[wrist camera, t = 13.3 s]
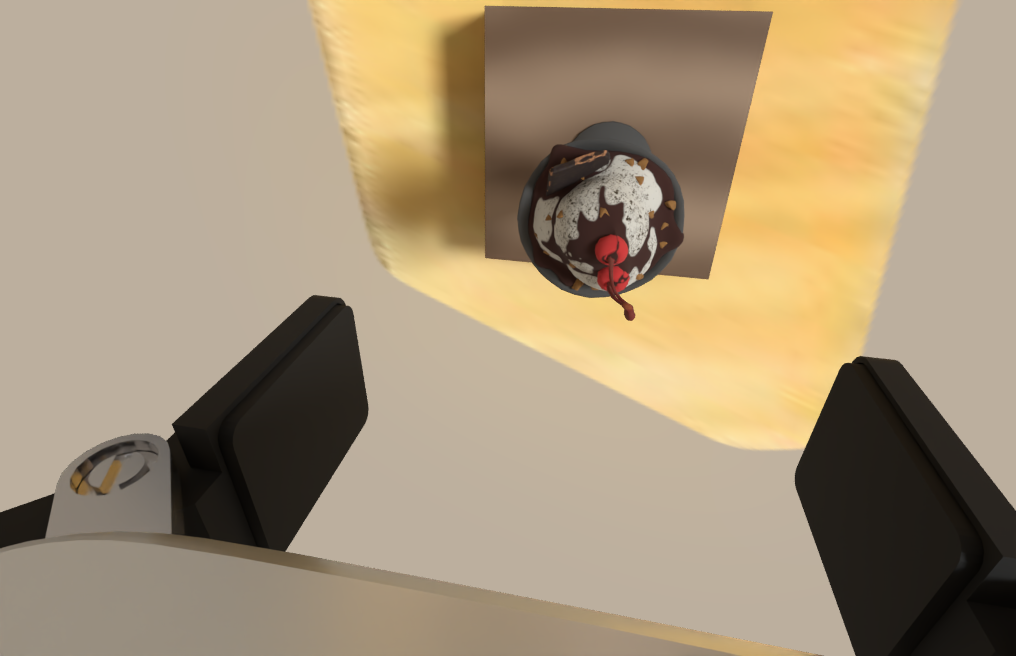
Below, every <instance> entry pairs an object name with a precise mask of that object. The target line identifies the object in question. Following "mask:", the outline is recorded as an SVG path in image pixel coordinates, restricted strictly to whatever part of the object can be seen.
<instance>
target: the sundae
mask: <svg viewBox="0 0 1016 656" xmlns="http://www.w3.org/2000/svg"><path fill="white" fill-rule="evenodd" d="M517 221H518V231H519V235H520V240H521V243H522V245H523V247H524V249H525V252H526V253H527V255H528V257H529V258H530V260H531V262H532V263H533V264H534V266H535V267H536V268H537V270H538V271H539V272H540V273H541V274H542V275H543V276H544V277H545V278H546V279H547V280H549V281H550V282H551V283H553V284H554V285H556V286H557V287H558V288H560V289H561V290H564V291H567V292H569V293H572V294H574V295H579V296H583V297H588V298H597V297H609V296H611V297H612V298H613V299H614V300H615V301H616V302H617V303H619V304H620V305H622V307H623V308H624V315H625V318H626V319H627V320H629V321H632V320H633V319H634V318H635V313H634V310H633V306H632V305H631V304H628V303H627V302H626V301H624V300H623V299H622V298H621V297H620V295H619V294H622V293H625V292H628V291H630V290H633V289H635V288H637V287H639V286H641V285H643V284H645V283H647V282H649V281H650V280H652V279H653V278H654V277H655V276H657V275H658V274H659V273H660V272H661V271H662V270H663V269H664V268H665V267H666V266H667V265H668V264H669V262H670V261H671V260H672V258H673V256H674V254H675V252H676V250H677V248H678V247H679V246H680V245H681V244H682V242H683V240H684V233H683V228H684V199H683V196H682V192H681V188H680V185H679V183H678V181H677V179H676V177H675V175H674V174H673V172H672V171H671V170H670V168H669V167H668V166H667V164H665V163H664V162H663V161H662V160H660V159H659V158H658V157H657V156H655V155H654V154H652V152H651V150H650V147H649V145H648V143H647V141H646V140H645V138H644V137H643V136H642V135H641V134H640V133H639V132H638V131H637V130H636V129H634V128H633V127H631V126H630V125H627V124H624V123H620V122H615V121H609V122H601V123H597V124H594V125H592V126H590V127H588V128H586V129H585V130H584V131H582V132H581V133H579V135H578V136H577V137H576V138H575V139H574V140H573V141H572V142H570V143H567V144H564V145H562V144H557V145H555V146H553V148H552V150H551V153H550V154H549V155H548V156H547V157H545V158H544V159H543V160H542V161H541V162H540V164H539V165H538V166H537V168H536V169H535V170H534V172H533V173H532V175H531V176H530V178H529V180H528V182H527V183H526V185H525V187H524V189H523V193H522V196H521V199H520V203H519V209H518V215H517ZM615 295H616V296H615ZM616 297H617V298H616Z"/></svg>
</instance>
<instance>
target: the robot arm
mask: <svg viewBox="0 0 1016 656" xmlns="http://www.w3.org/2000/svg"><path fill="white" fill-rule="evenodd" d="M367 416H368V401H367V395H366V389H365V383H364V376H363V370H362V364H361V358H360V352H359V346H358V340H357V334H356V327H355V321H354V315H353V311H352V309H351V307H350V306H346V305H345V303H344V301H343V300H342V299H341V298H335V297H327V296H317V295H313V296H311V297H310V298H309V299H307V300H306V301H305V302H304V303H303V304H302V305H301V306H300V307H299V308H298V309H296V311H294V312H293V313H292V314H291V315H290V316H289V317H288V318H287V319H286V320H285V321H283V322H282V323H281V324H280V325H279V326H278V327H277V328H276V329H275V330H274V331H273V332H272V333H270V334H269V335H268V336H267V337H266V338H265V339H264V340H263V341H262V342H261V343H260V344H258V345H257V346H256V347H255V348H254V349H253V350H252V351H251V352H250V353H249V354H248V355H247V356H245V357H244V358H243V359H242V360H241V361H240V362H239V363H238V364H237V365H236V366H235V367H233V368H232V369H231V370H230V371H229V372H228V373H227V374H226V375H225V376H224V377H223V378H221V379H220V380H219V381H218V382H217V383H216V384H215V385H214V386H213V387H212V388H211V389H210V390H208V391H207V392H206V393H205V394H204V395H203V396H202V397H201V398H200V399H199V400H198V401H196V402H195V403H194V404H193V406H191V407H190V408H189V409H188V410H187V411H186V412H185V413H184V414H183V415H182V416H180V417H179V418H178V419H177V420H176V421H175V422H174V423H173V424H172V426H173V428H174V430H175V433H174V434H173V435H172V436H171V437H170V438H169V439H168V440H167V441H165V440H164V439H163V438H161V437H160V436H157V435H153V434H131V435H127V436H121V437H117V438H115V439H112V440H109V441H106V442H104V443H101V444H99V445H97V446H96V447H93V448H92V449H90V450H88V451H86V452H85V453H83V454H82V455H81V456H79V457H78V458H77V459H75V460H74V461H73V462H72V463H71V464H70V465H69V466H68V467H67V468H66V469H65V470H64V471H63V472H62V474H61V476H60V479H59V481H58V483H57V486H56V490H55V493H54V494H52V495H49V496H46V497H43V498H41V499H37V500H34V501H32V502H29V503H26V504H23V505H20V506H17V507H15V508H12V509H9V510H6V511H3V512H0V656H822V655H817V654H812V653H807V652H802V651H797V650H792V649H787V648H782V647H777V646H772V645H767V644H762V643H757V642H751V641H747V640H741V639H737V638H731V637H726V636H721V635H716V634H711V633H706V632H701V631H696V630H691V629H686V628H681V627H676V626H671V625H665V624H661V623H656V622H651V621H646V620H641V619H635V618H631V617H625V616H620V615H615V614H609V613H605V612H600V611H594V610H589V609H584V608H579V607H574V606H569V605H563V604H558V603H553V602H548V601H543V600H538V599H532V598H527V597H522V596H516V595H512V594H506V593H501V592H496V591H491V590H486V589H481V588H476V587H470V586H465V585H459V584H454V583H449V582H444V581H439V580H434V579H428V578H423V577H418V576H412V575H407V574H401V573H396V572H391V571H386V570H380V569H375V568H369V567H364V566H359V565H354V564H348V563H343V562H337V561H332V560H327V559H322V558H316V557H311V556H305V555H300V554H295V553H289V552H285V551H286V550H287V548H288V546H289V545H290V543H291V542H292V540H293V538H294V537H295V535H296V534H297V532H298V530H299V529H300V527H301V526H302V524H303V522H304V521H305V519H306V518H307V516H308V514H309V513H310V511H311V510H312V508H313V506H314V505H315V503H316V501H317V500H318V498H319V497H320V495H321V493H322V492H323V490H324V489H325V487H326V485H327V484H328V482H329V481H330V479H331V477H332V475H333V474H334V472H335V471H336V469H337V468H338V466H339V465H340V463H341V461H342V460H343V458H344V457H345V455H346V453H347V452H348V450H349V448H350V447H351V445H352V444H353V442H354V440H355V439H356V437H357V436H358V434H359V432H360V431H361V429H362V428H363V426H364V424H365V422H366V420H367ZM795 486H796V490H797V493H798V495H799V498H800V501H801V504H802V507H803V509H804V512H805V515H806V517H807V520H808V523H809V526H810V529H811V532H812V535H813V537H814V540H815V543H816V546H817V549H818V551H819V554H820V557H821V560H822V563H823V565H824V568H825V571H826V574H827V577H828V579H829V582H830V585H831V588H832V591H833V593H834V596H835V599H836V602H837V605H838V607H839V610H840V613H841V616H842V619H843V621H844V624H845V627H846V630H847V632H848V635H849V638H850V641H851V644H852V647H853V649H854V652H855V655H856V656H1016V511H1015V509H1014V508H1013V507H1012V505H1011V504H1010V503H1009V502H1008V501H1007V499H1006V498H1005V496H1004V495H1003V494H1002V493H1001V491H1000V490H999V489H998V487H997V486H996V485H995V484H994V483H993V481H992V480H991V479H990V477H989V476H988V475H987V473H986V472H985V471H984V469H983V468H982V467H981V466H980V464H979V463H978V462H977V460H976V459H975V458H974V457H973V455H972V454H971V453H970V451H969V450H968V449H967V448H966V446H965V445H964V444H963V442H962V441H961V440H960V439H959V437H958V436H957V435H956V433H955V432H954V431H953V430H952V428H951V427H950V426H949V425H948V423H947V422H946V421H945V419H944V418H943V417H942V415H941V414H940V413H939V412H938V410H937V409H936V408H935V406H934V405H933V404H932V403H931V401H930V400H929V399H928V397H927V396H926V395H925V394H924V392H923V391H922V390H921V388H920V387H919V386H918V385H917V383H916V382H915V381H914V379H913V378H912V377H911V376H910V374H909V373H908V372H907V370H906V369H905V368H904V367H903V365H902V364H901V363H900V362H898V361H896V360H890V359H880V358H872V357H863V356H860V357H857V358H856V359H855V360H854V361H853V362H852V363H845V364H844V365H842V367H841V368H840V370H839V372H838V375H837V377H836V379H835V381H834V384H833V386H832V388H831V391H830V393H829V395H828V397H827V400H826V402H825V404H824V407H823V409H822V411H821V413H820V416H819V418H818V420H817V423H816V425H815V427H814V429H813V432H812V434H811V436H810V438H809V441H808V443H807V445H806V448H805V450H804V452H803V454H802V457H801V459H800V461H799V464H798V466H797V468H796V473H795Z"/></svg>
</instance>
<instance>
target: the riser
mask: <svg viewBox="0 0 1016 656" xmlns="http://www.w3.org/2000/svg"><path fill="white" fill-rule="evenodd" d="M772 14H773V12H760V11H711V10H662V9H612V8H563V7H514V6H485V258H491V259H501V260H512V261H522V262H531V260H530V258H529V257H528V255H527V253H526V252H525V249H524V247H523V245H522V243H521V240H520V235H519V231H518V221H517V215H518V209H519V203H520V199H521V196H522V193H523V189H524V187H525V185H526V183H527V182H528V180H529V178H530V176H531V175H532V173H533V172H534V170H535V169H536V168H537V166H538V165H539V164H540V162H541V161H542V160H543V159H544V158H545V157H547V156H548V155H549V154H550V153H551V150H552V148H553V146H555V145H557V144H562V145H564V144H567V143H570V142H572V141H573V140H574V139H575V138H576V137H577V136H578V135H579V133H581V132H582V131H584V130H585V129H586V128H588V127H590V126H592V125H594V124H597V123H601V122H609V121H615V122H620V123H624V124H627V125H630V126H631V127H633V128H634V129H636V130H637V131H638V132H639V133H640V134H641V135H642V136H643V137H644V138H645V140H646V141H647V143H648V145H649V147H650V150H651V152H652V154H654V155H655V156H657V157H658V158H659V159H660V160H662V161H663V162H664V163H665V164H667V166H668V167H669V168H670V170H671V171H672V172H673V174H674V175H675V177H676V179H677V181H678V183H679V185H680V188H681V192H682V196H683V199H684V228H683V233H684V240H683V242H682V244H681V245H680V246H679V247H678V248H677V250H676V252H675V254H674V256H673V258H672V260H671V261H670V262H669V264H668V265H667V266H666V267H665V268H664V269H663V270H662V271H661V272H660V273H659V274H658V275H669V276H679V277H690V278H700V279H709V275H710V270H711V266H712V262H713V258H714V254H715V250H716V246H717V241H718V237H719V233H720V229H721V225H722V221H723V217H724V212H725V208H726V204H727V200H728V196H729V192H730V188H731V183H732V179H733V175H734V171H735V167H736V163H737V159H738V154H739V150H740V146H741V142H742V138H743V134H744V130H745V125H746V121H747V117H748V113H749V109H750V105H751V101H752V96H753V92H754V88H755V84H756V80H757V76H758V72H759V68H760V63H761V59H762V55H763V51H764V47H765V43H766V39H767V34H768V30H769V26H770V22H771V18H772Z"/></svg>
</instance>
